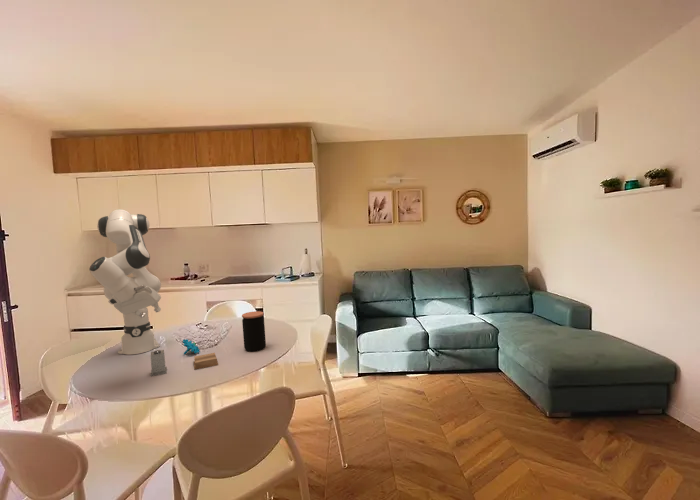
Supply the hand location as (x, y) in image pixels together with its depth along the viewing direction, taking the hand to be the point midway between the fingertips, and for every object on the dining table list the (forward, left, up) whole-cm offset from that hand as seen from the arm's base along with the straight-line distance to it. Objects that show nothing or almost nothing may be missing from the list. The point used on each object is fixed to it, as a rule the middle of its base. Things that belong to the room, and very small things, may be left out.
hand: (151, 313), depth 152 cm
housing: (-2, +1, -27) cm, 27 cm away
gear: (-21, +15, -27) cm, 37 cm away
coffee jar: (-9, +44, -27) cm, 52 cm away
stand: (-1, +20, -27) cm, 33 cm away
